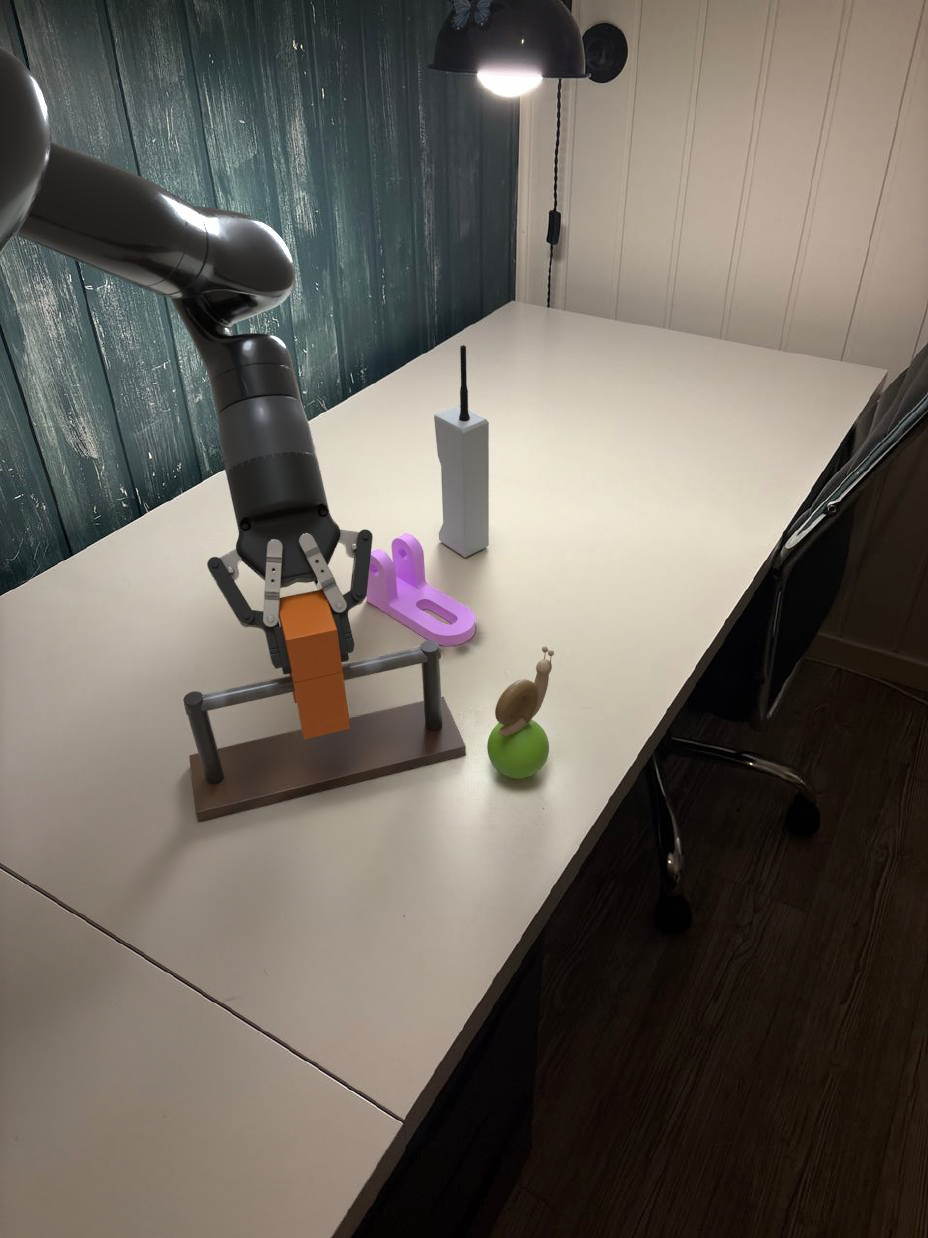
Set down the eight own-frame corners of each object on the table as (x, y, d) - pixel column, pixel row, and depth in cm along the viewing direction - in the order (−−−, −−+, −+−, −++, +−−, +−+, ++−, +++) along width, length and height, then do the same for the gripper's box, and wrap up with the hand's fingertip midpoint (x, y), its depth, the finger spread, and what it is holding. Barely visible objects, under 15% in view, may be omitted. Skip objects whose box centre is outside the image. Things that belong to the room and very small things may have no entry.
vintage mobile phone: (462, 530, 113) (457, 332, 97) (488, 547, 110) (489, 345, 94) (438, 541, 111) (430, 341, 96) (465, 559, 108) (461, 355, 92)
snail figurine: (567, 762, 83) (575, 662, 75) (519, 801, 79) (521, 700, 72) (523, 731, 86) (526, 632, 78) (474, 768, 82) (473, 668, 75)
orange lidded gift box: (304, 739, 77) (286, 640, 70) (293, 696, 81) (275, 598, 75) (350, 729, 78) (337, 629, 71) (337, 686, 82) (323, 588, 75)
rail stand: (198, 822, 78) (170, 732, 71) (191, 764, 83) (165, 675, 77) (466, 755, 84) (464, 666, 77) (444, 704, 89) (440, 617, 82)
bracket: (366, 601, 102) (361, 549, 98) (403, 579, 105) (399, 528, 101) (449, 653, 95) (447, 599, 90) (486, 628, 98) (485, 575, 94)
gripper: (178, 464, 70) (225, 683, 69) (360, 435, 73) (408, 643, 72) (187, 491, 77) (229, 689, 76) (352, 463, 81) (395, 653, 79)
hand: (316, 666), depth 74 cm, fingers closed on orange lidded gift box, 4 cm apart
